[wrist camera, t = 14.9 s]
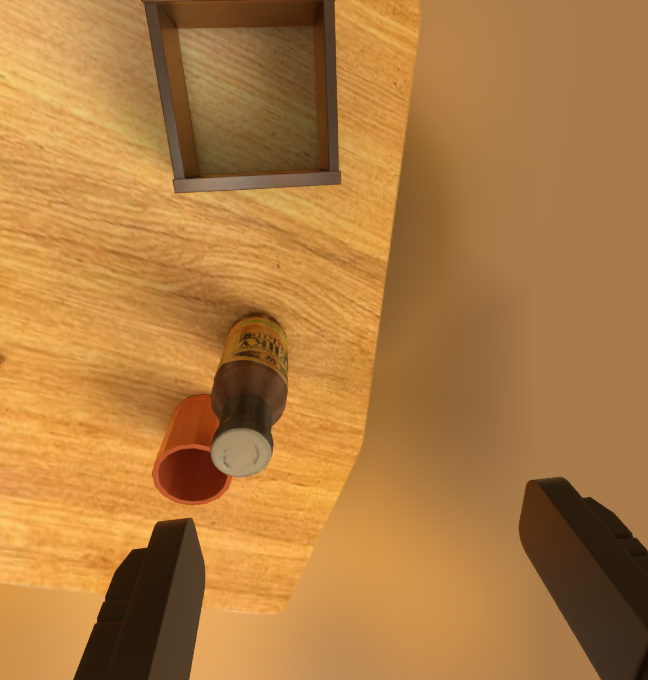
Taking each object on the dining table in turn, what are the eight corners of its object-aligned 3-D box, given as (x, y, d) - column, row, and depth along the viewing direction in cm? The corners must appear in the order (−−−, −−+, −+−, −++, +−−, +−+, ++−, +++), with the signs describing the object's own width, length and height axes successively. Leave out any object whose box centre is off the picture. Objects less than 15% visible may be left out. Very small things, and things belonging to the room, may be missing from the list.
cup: (233, 391, 48) (226, 440, 40) (241, 444, 51) (236, 500, 43) (166, 397, 48) (144, 448, 39) (178, 451, 51) (160, 509, 42)
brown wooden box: (324, 12, 35) (336, -21, 28) (329, 178, 40) (341, 184, 34) (163, 15, 34) (137, -18, 27) (191, 186, 39) (174, 193, 33)
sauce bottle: (298, 330, 46) (314, 446, 28) (264, 373, 48) (260, 508, 30) (247, 297, 44) (230, 399, 26) (214, 343, 46) (177, 469, 28)
